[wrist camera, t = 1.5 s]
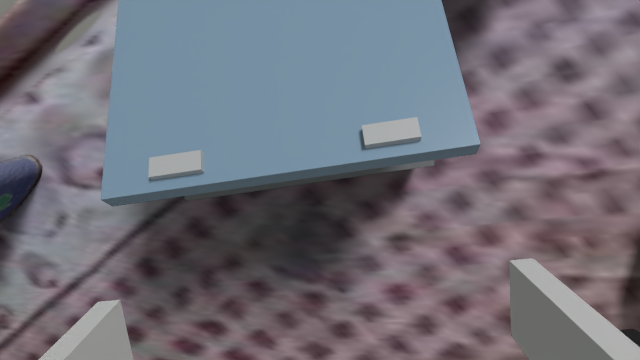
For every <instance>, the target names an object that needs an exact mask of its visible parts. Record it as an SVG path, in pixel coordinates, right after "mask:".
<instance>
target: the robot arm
mask: <svg viewBox="0 0 640 360" xmlns="http://www.w3.org/2000/svg"><path fill="white" fill-rule="evenodd" d="M509 263H510V307H511V336H512V337H513V339H514V340H515V341H516V343H517V344H518V345H519V347H520V348H521V349H522V351H523V352H524V353H525V355H526V356H527V357H528V359H529V360H640V332H638V331H636V330H634V329H626V330H618V329H617V328H616V327H615V326H613V325H612V324H611V323H610V322H609V321H607V320H606V319H605V318H604V317H603V316H601V315H600V314H599V313H598V312H597V311H595V310H594V309H593V308H592V307H591V306H589V305H588V304H587V303H586V302H585V301H583V300H582V299H581V298H580V297H579V296H577V295H576V294H575V293H574V292H573V291H571V290H570V289H569V288H568V287H567V286H565V285H564V284H563V283H562V282H561V281H559V280H558V279H557V278H556V277H555V276H553V275H552V274H551V273H550V272H549V271H547V270H546V269H545V268H544V267H543V266H541V265H540V264H539V263H538V262H537V261H535V260H534V259H533V258H531V259H521V260H511V261H509ZM39 360H133V356H132V351H131V347H130V342H129V338H128V333H127V329H126V324H125V320H124V315H123V311H122V306H121V302H120V300H113V301H103V302H97V303H96V304H95V305H94V306H93V307H92V308H91V309H90V310H89V311H88V312H87V313H86V314H85V315H84V316H83V317H82V318H81V319H80V320H79V321H78V322H77V323H76V324H75V325H74V326H73V327H72V328H71V329H70V330H69V331H68V332H67V333H66V334H65V335H64V336H63V337H62V338H61V339H59V340H58V341H57V342H56V343H55V344H54V345H53V346H52V347H51V348H50V349H49V350H48V351H47V352H46V353H45V354H44V355H43V356H42V357H41V358H40V359H39Z"/></svg>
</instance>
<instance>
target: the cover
mask: <svg viewBox="0 0 640 360" xmlns="http://www.w3.org/2000/svg"><path fill="white" fill-rule="evenodd" d="M479 146H480V140H479V137H478V133H477V129H476V126H475V122H474V118H473V115H472V111H471V107H470V104H469V100H468V96H467V93H466V89H465V85H464V82H463V78H462V74H461V71H460V67H459V63H458V60H457V56H456V52H455V48H454V45H453V41H452V37H451V34H450V30H449V26H448V23H447V19H446V15H445V12H444V8H443V4H442V1H441V0H119V3H118V14H117V25H116V36H115V47H114V58H113V69H112V80H111V91H110V102H109V113H108V124H107V135H106V146H105V157H104V168H103V180H102V191H101V200H102V201H104V202H106V203H107V204H109V205H111V206H119V205H126V204H133V203H140V202H147V201H154V200H161V199H168V198H174V197H181V196H188V195H195V194H202V193H209V192H216V191H223V190H230V189H237V188H244V187H250V186H257V185H264V184H271V183H278V182H285V181H292V180H299V179H306V178H313V177H320V176H327V175H333V174H340V173H347V172H354V171H361V170H368V169H375V168H382V167H389V166H396V165H403V164H409V163H416V162H423V161H430V160H437V159H444V158H451V157H458V156H465V155H472V154H476V153H477V151H478V149H479Z"/></svg>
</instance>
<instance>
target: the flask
mask: <svg viewBox="0 0 640 360" xmlns="http://www.w3.org/2000/svg"><path fill="white" fill-rule="evenodd" d="M37 160H38V159H37ZM37 160H36V158H35V157H34V156H32V155H23V156H20V157H15V158H12V159H8V160H5V161H1V162H0V223H1V222H3V221H4V220H5V219H6V218H8V217H9V216H11V214H12V213H14V212H15V211H16V210H17V209H18V207H19V206H21V204H22V202H23V201H24V199H25V198H26V197H27V196H28V194H29V193H30V192H31V191H32V189H33V188H34V187H35V185H36V183H37V181H38V180H39V179H40V175H41V172H42V168H43V167H42V165H41V163H40V161H39V160H38V163H37Z"/></svg>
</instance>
